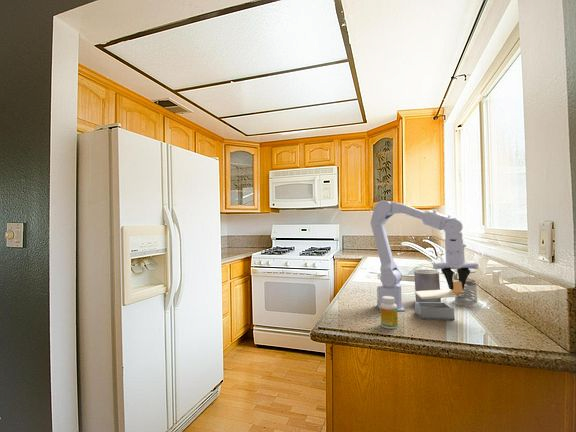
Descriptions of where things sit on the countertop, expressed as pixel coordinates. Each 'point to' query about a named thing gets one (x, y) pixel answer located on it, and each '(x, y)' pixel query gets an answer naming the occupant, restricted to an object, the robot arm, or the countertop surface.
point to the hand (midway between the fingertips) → (456, 288)
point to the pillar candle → (426, 283)
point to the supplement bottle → (389, 313)
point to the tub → (434, 310)
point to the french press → (467, 291)
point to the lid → (442, 292)
